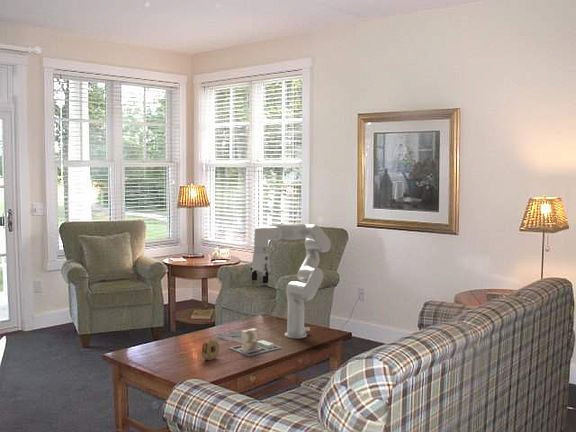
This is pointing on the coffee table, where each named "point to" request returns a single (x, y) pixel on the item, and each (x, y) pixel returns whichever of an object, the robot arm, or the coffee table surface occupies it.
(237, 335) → the picture frame
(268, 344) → the upper offcut
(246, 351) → the rack
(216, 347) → the tan rounded piece
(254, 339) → the birch board
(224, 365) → the coffee table surface
